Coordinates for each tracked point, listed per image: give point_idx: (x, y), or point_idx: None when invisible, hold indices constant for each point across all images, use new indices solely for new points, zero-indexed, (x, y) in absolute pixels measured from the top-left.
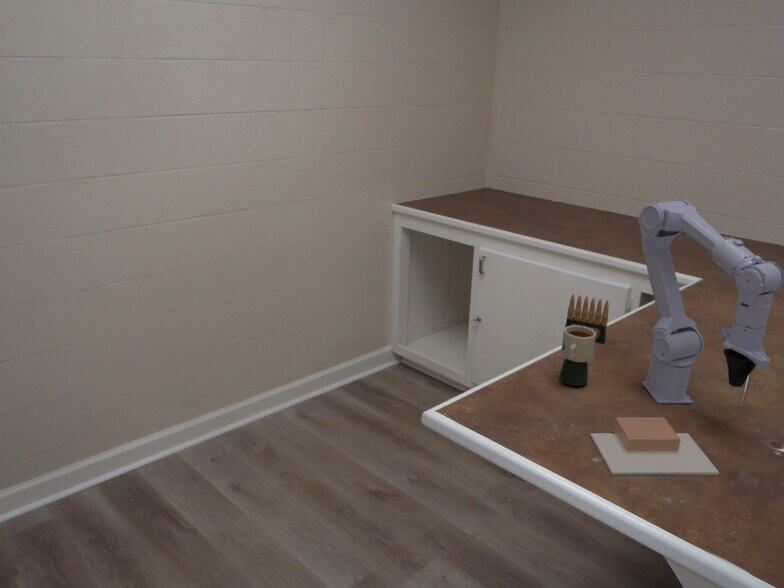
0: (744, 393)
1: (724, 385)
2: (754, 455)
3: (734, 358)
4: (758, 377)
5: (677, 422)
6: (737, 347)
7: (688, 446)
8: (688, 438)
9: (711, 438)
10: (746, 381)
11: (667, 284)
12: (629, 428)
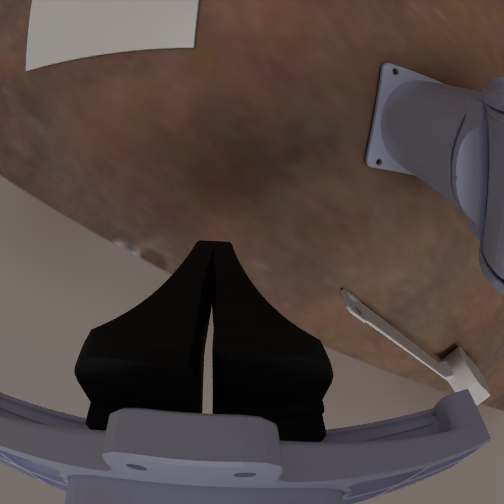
0: (346, 303)
1: (407, 286)
2: (102, 190)
3: (91, 354)
4: (399, 349)
5: (274, 55)
6: (85, 473)
7: (124, 24)
8: (165, 38)
9: (177, 113)
10: (390, 328)
11: None
12: None
